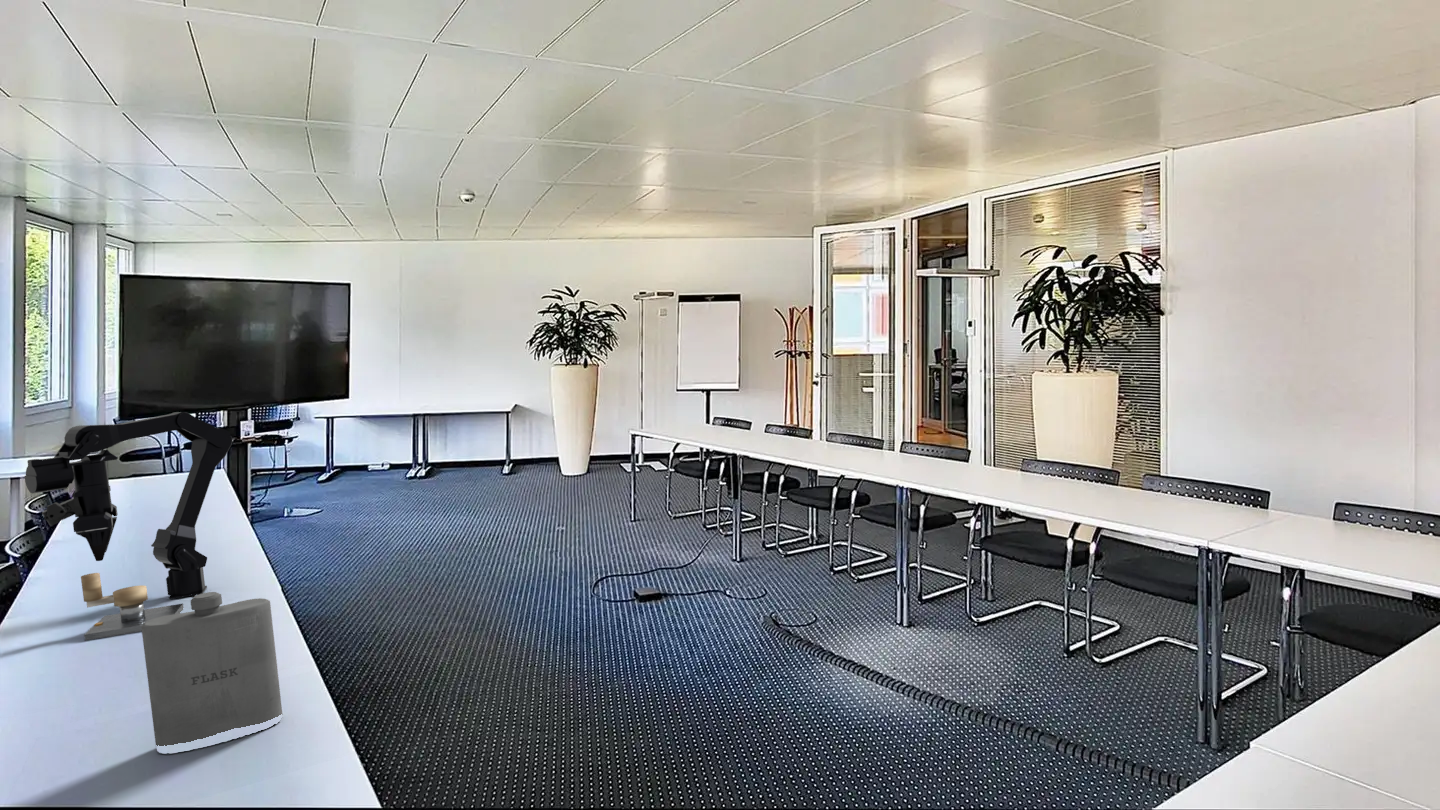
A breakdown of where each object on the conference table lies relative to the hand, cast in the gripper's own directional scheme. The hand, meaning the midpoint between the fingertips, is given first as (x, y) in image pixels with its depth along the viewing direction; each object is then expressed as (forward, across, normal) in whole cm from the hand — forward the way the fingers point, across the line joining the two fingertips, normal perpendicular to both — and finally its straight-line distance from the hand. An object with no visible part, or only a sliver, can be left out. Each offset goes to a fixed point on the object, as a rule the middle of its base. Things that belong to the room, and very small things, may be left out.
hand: (101, 556), depth 172 cm
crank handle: (+8, +12, +2) cm, 15 cm away
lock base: (+13, +12, +5) cm, 18 cm away
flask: (+13, +86, +18) cm, 88 cm away
